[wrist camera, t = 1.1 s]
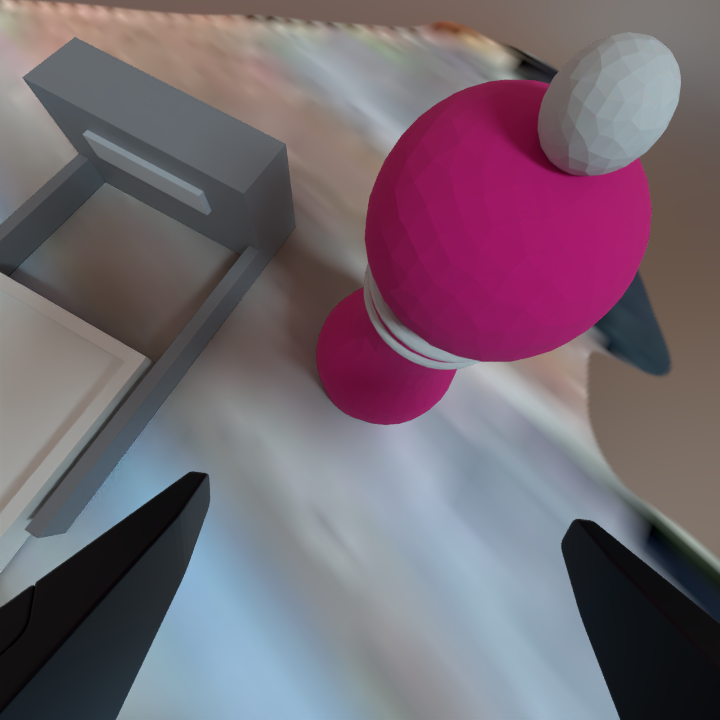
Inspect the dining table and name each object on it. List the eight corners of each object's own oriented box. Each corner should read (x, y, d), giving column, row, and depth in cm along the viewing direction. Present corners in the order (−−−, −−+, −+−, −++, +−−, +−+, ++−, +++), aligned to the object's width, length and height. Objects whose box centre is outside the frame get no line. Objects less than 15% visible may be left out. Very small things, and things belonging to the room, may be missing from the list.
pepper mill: (373, 454, 23) (770, 467, 4) (288, 371, 23) (240, -15, 4) (446, 372, 25) (952, 97, 6) (367, 296, 25) (587, -201, 6)
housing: (64, 533, 20) (-65, 556, 13) (-141, 402, 21) (-353, 364, 15) (295, 226, 27) (285, 143, 21) (133, 141, 28) (75, 37, 22)
